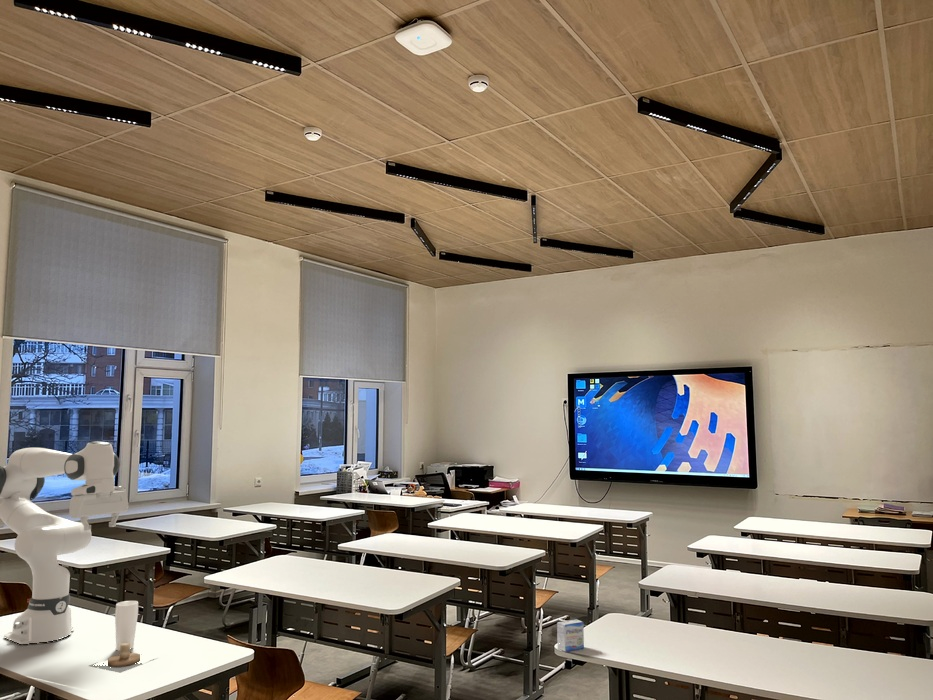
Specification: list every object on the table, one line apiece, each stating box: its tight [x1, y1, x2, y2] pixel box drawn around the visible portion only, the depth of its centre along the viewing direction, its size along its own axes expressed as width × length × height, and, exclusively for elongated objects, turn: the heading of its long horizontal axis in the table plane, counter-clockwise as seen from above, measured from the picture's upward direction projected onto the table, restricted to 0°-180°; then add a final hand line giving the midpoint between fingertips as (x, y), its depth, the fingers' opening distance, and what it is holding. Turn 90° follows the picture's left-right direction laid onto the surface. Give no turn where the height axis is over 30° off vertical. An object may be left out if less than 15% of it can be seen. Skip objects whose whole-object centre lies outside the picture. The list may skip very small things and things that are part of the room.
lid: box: [108, 643, 140, 667], centre depth 209 cm, size 9×9×5 cm
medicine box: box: [556, 618, 585, 653], centre depth 223 cm, size 8×4×9 cm, turn 117°
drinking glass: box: [114, 600, 139, 651], centre depth 223 cm, size 7×7×15 cm
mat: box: [88, 662, 143, 673], centre depth 209 cm, size 14×14×1 cm
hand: (100, 528), depth 230 cm, fingers open, 8 cm apart
